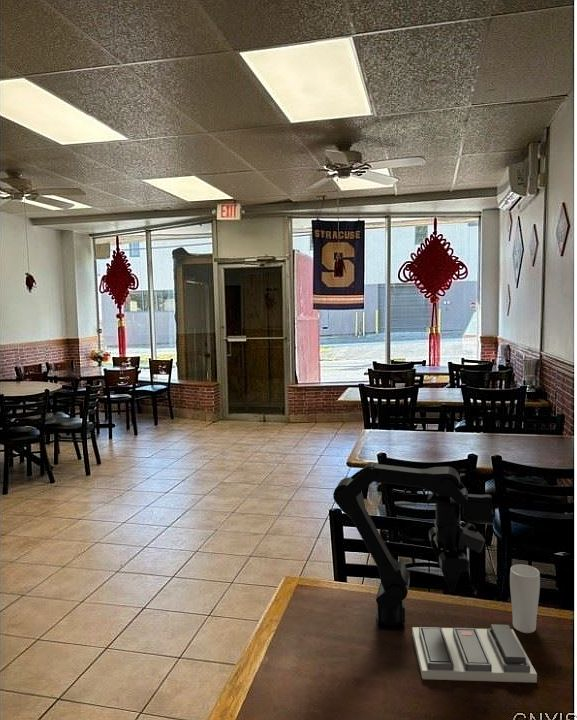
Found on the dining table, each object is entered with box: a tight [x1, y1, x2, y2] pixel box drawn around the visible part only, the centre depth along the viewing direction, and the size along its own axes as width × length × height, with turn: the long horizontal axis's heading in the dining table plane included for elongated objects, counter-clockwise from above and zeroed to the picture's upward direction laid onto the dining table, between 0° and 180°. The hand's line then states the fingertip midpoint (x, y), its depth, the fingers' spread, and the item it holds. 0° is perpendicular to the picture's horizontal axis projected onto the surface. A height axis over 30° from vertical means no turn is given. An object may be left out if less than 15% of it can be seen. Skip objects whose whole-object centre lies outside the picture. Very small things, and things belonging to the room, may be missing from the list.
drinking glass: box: [509, 563, 541, 634], centre depth 135 cm, size 7×7×15 cm
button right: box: [490, 624, 526, 664], centre depth 123 cm, size 4×12×2 cm, turn 175°
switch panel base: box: [411, 626, 538, 683], centre depth 125 cm, size 24×16×4 cm, turn 85°
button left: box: [422, 628, 450, 663], centre depth 125 cm, size 4×12×2 cm, turn 175°
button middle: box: [456, 630, 487, 664], centre depth 124 cm, size 4×12×2 cm, turn 175°
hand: (447, 581), depth 134 cm, fingers open, 9 cm apart
